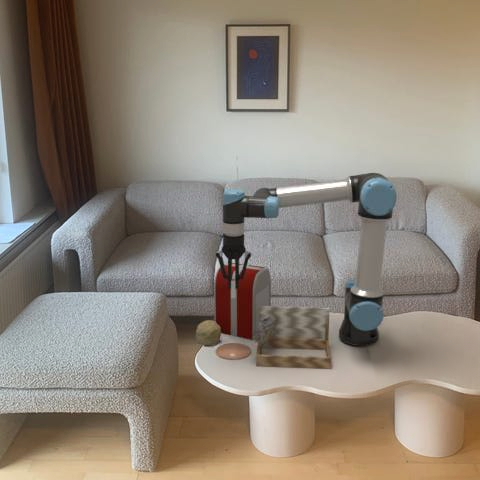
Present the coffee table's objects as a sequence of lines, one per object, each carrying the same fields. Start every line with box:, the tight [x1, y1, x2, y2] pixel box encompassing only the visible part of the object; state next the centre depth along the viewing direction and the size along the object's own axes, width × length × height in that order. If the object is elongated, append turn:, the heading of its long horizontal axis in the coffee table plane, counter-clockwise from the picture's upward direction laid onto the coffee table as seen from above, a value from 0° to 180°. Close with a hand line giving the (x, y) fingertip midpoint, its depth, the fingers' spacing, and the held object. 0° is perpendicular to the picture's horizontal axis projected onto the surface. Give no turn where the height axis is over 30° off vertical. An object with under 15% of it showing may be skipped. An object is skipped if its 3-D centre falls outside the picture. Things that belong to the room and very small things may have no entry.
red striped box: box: [213, 262, 272, 341], centre depth 259 cm, size 16×18×27 cm
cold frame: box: [255, 305, 332, 370], centre depth 237 cm, size 26×17×16 cm, turn 86°
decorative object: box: [195, 319, 222, 346], centre depth 251 cm, size 9×10×10 cm
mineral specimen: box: [252, 316, 277, 350], centre depth 239 cm, size 15×8×4 cm
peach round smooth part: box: [215, 342, 252, 361], centre depth 243 cm, size 13×13×1 cm
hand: (233, 296), depth 238 cm, fingers closed
